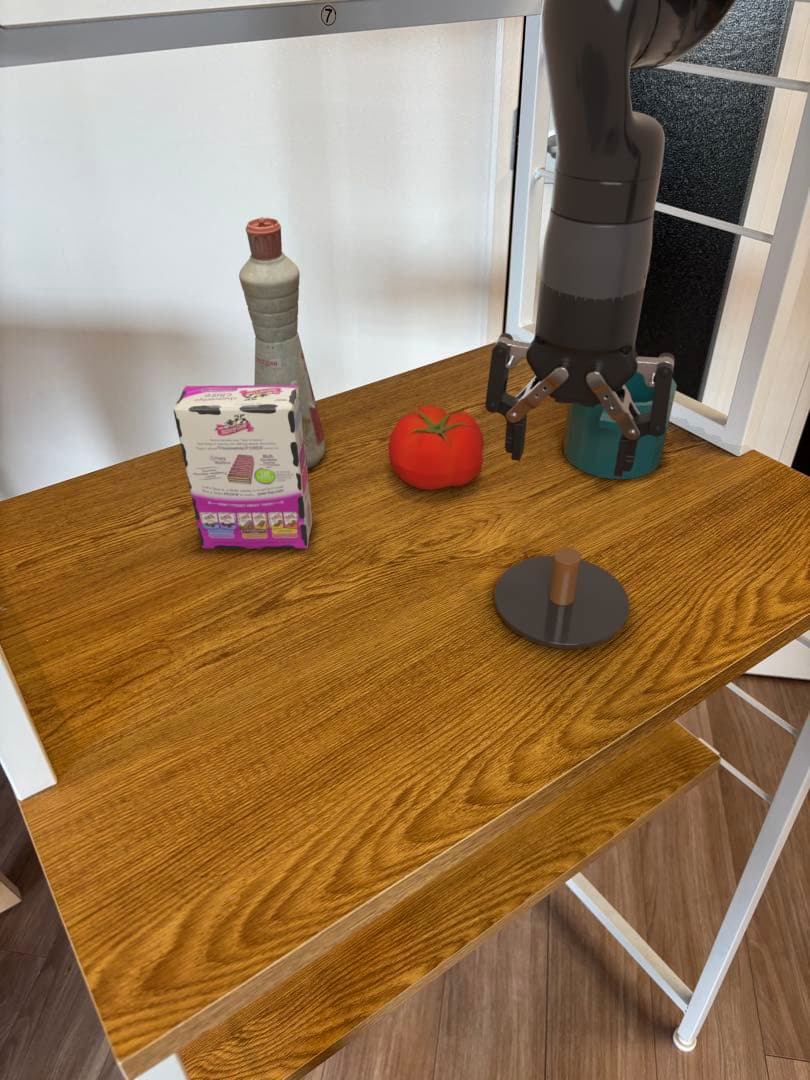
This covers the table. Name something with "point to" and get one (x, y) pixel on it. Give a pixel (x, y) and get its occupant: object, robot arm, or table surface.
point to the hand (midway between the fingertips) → (567, 463)
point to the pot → (612, 435)
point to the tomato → (436, 448)
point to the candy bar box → (246, 465)
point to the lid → (561, 601)
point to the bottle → (279, 325)
